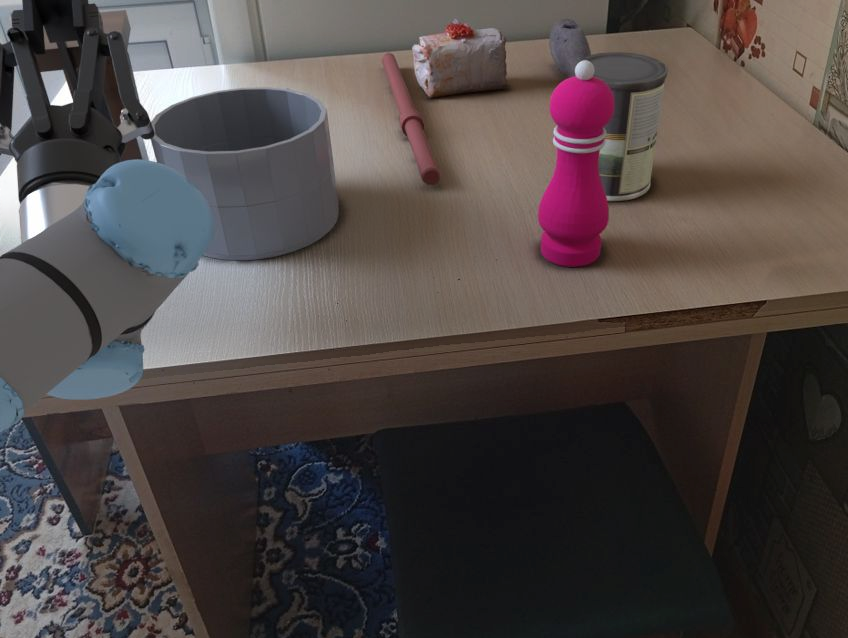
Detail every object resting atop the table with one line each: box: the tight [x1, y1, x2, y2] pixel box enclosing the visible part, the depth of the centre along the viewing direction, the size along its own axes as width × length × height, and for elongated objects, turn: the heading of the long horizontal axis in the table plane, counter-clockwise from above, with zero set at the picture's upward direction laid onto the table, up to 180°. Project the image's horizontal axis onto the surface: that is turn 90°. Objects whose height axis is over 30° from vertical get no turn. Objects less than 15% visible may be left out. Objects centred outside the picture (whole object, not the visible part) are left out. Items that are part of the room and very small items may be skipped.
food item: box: [411, 18, 508, 98], centre depth 120 cm, size 14×8×10 cm, turn 106°
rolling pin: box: [381, 52, 441, 186], centre depth 112 cm, size 45×3×3 cm, turn 11°
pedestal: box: [34, 9, 150, 162], centre depth 84 cm, size 12×8×21 cm, turn 16°
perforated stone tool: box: [548, 18, 592, 79], centre depth 125 cm, size 15×5×7 cm, turn 6°
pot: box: [150, 86, 340, 261], centre depth 86 cm, size 18×18×12 cm
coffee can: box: [574, 51, 669, 202], centre depth 92 cm, size 10×10×14 cm
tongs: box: [34, 0, 116, 127], centre depth 75 cm, size 16×3×3 cm
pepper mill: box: [537, 60, 614, 268], centre depth 77 cm, size 7×7×20 cm
